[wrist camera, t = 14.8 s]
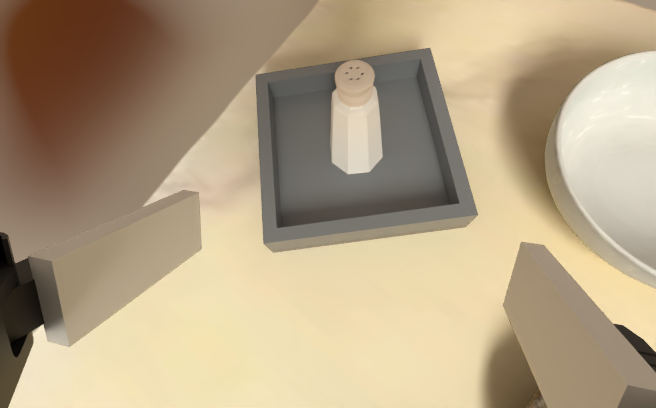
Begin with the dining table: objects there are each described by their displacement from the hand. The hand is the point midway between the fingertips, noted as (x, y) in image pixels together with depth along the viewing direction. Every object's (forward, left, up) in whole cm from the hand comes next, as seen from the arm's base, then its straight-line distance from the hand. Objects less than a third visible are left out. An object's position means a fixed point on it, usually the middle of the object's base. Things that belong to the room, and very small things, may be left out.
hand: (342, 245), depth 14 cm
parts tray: (-2, -13, -18) cm, 22 cm away
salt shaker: (-2, -13, -17) cm, 21 cm away
